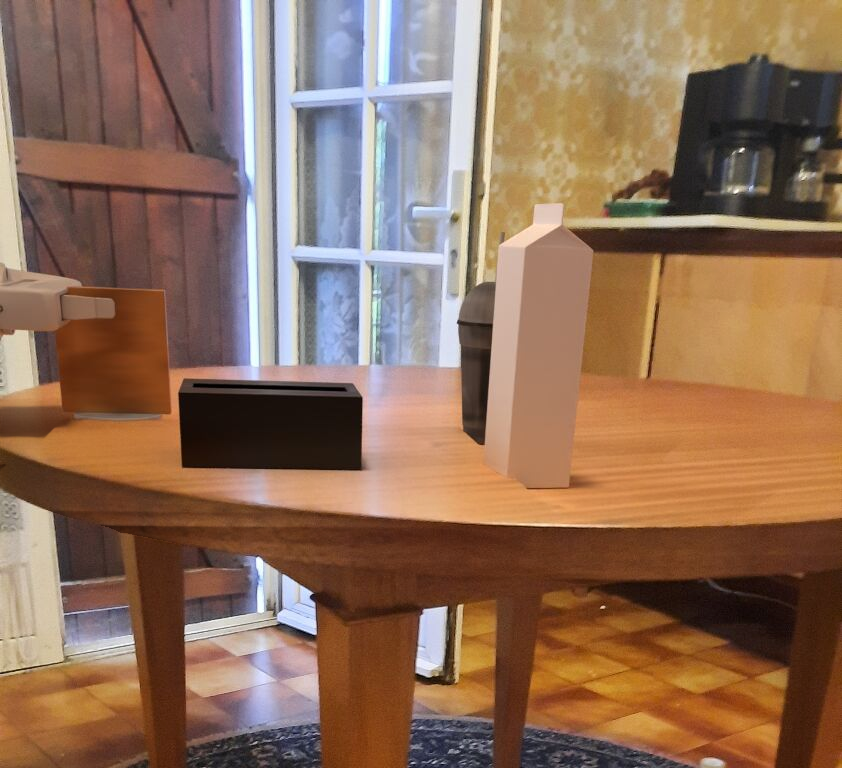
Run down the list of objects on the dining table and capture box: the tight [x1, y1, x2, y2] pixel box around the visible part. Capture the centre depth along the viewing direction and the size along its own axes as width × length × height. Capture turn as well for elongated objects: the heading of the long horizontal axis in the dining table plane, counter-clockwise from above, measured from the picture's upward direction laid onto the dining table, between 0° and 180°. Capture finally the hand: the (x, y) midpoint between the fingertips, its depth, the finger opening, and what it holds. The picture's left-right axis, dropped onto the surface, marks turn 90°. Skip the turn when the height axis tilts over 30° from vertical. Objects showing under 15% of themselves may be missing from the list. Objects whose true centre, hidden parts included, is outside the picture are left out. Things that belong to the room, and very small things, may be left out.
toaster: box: [177, 377, 364, 472], centre depth 93 cm, size 15×9×7 cm, turn 98°
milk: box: [482, 202, 594, 489], centre depth 90 cm, size 6×6×22 cm
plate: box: [73, 412, 164, 422], centre depth 112 cm, size 9×9×1 cm
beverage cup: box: [456, 231, 506, 446], centre depth 109 cm, size 7×7×20 cm
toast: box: [54, 285, 173, 415], centre depth 110 cm, size 11×2×12 cm, turn 98°
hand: (118, 306), depth 108 cm, fingers open, 5 cm apart
